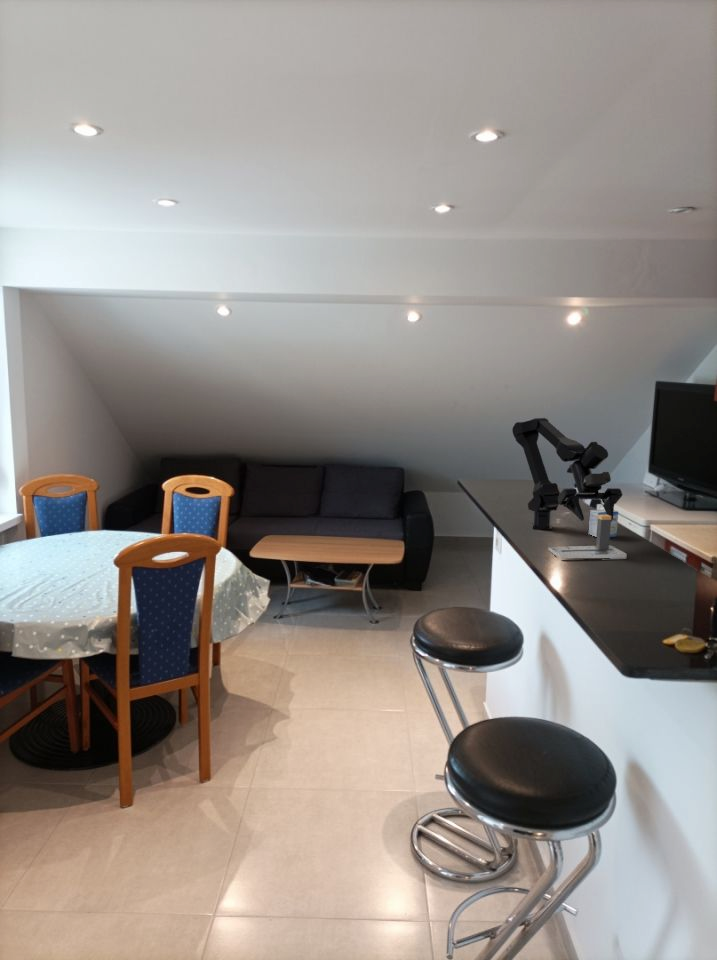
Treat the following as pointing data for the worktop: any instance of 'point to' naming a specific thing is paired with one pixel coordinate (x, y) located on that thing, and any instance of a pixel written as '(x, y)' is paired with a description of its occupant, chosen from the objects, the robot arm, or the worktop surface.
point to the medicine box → (594, 522)
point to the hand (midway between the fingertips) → (597, 520)
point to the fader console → (587, 552)
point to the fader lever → (603, 532)
